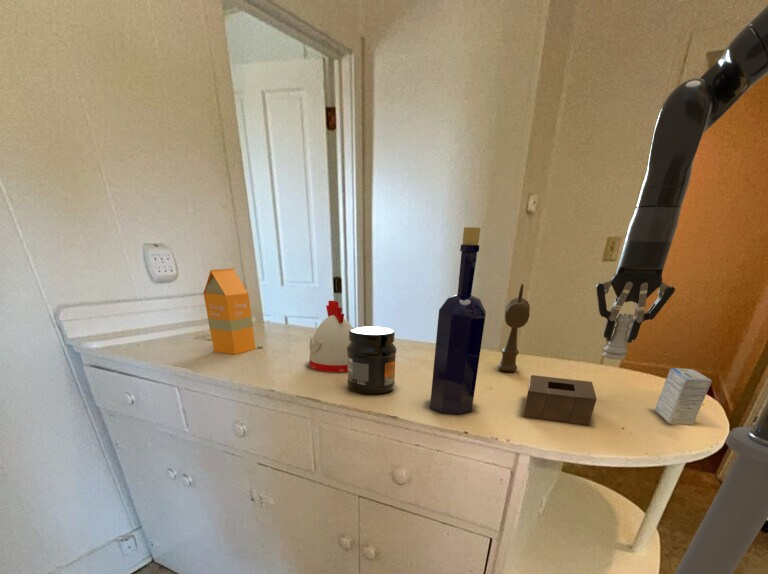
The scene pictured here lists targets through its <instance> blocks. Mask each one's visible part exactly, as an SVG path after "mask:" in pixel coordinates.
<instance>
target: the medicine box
mask: <svg viewBox="0 0 768 574" xmlns="http://www.w3.org/2000/svg"><path fill="white" fill-rule="evenodd" d="M664 381H665V382H664V384H663V387H662V388H661V392H660V395H659V397H658V398H657V399H658V400H657V402H656V404H655V408H654V411H655V412H656V413H657V414H658V415H659V416H660V417H661V418H663V420H665V421H666V422H667V423H668V424H670V425H678V426H690V427H691V426H694V424H695V421H696V419H697V416H698V414H699V412H700V409H701V407H702V405H703V403H704V400H705V398H706V396H707V393H708V391H709V389H710V386H711V384H712V379H710V378H709V377H707V376H706V375H704V374H703V373H701V372H699V371H696V370H695V369H691V368H680V367H677V368H670V369H669V371H668V373H667V376H666V378H665V380H664Z"/></svg>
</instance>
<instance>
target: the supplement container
mask: <svg viewBox="0 0 768 574" xmlns="http://www.w3.org/2000/svg"><path fill="white" fill-rule="evenodd" d="M395 334H396V332H395V330H393V329H391V328H388V327H384V326H383V327H382V326H357V327H353V328H352V329H350V330H349V340H350V343H349V345H348V346H347V361H348V372H347V386H348V388H349V389H350V390H352V391H353V392H356V393H359V394H364V395H382V394H385V393H389V392H390V391H392V390H393V389H394V387H395V385H396V381H395V379H396V378H395V377H396V358H397V357H396V355H397V346H396V345H395V344H394V342H395V339H396V338H395V336H396V335H395Z"/></svg>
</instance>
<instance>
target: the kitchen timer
mask: <svg viewBox="0 0 768 574" xmlns="http://www.w3.org/2000/svg"><path fill="white" fill-rule="evenodd" d="M327 303H328V304H327V305H325V307H326V312H327V317H326V318H325V319H323V320H322V321H321V323H319V326H318V327H317V328H316V331H315V333H314V335H313V336H309V337H310V338H309V367H310V368H311V369H313V370H316V371H320V372H325V373H326V372H327V373H348V361H347V346H348V345H349V343H350V340H349V330H350V329H352V328H354V327H353V325H352V324H351V323H350V322H349V321H348V320H347V319H346V318H345V313H342V307H340V306H339V301H338V300H337V301H336V300H328V302H327Z"/></svg>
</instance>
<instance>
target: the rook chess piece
mask: <svg viewBox="0 0 768 574" xmlns="http://www.w3.org/2000/svg"><path fill="white" fill-rule="evenodd" d="M633 317H634V314H631V313H628V315H627V313H618V315H617V317H616V319H615V321H616V323H615V327H614V330H613V334H612V337H611V340H610V341H608V342H607V345H606V346H605V347H604V348H603V350H604V352H603V353H602V356H603V358H606V359H608V360H624V359H626V357H627V355H626V353H627V352H628V348H627V342H626V339H627V336H628V333H629V330H630V326H631V323H632V322H633V321H634V318H633Z"/></svg>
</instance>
